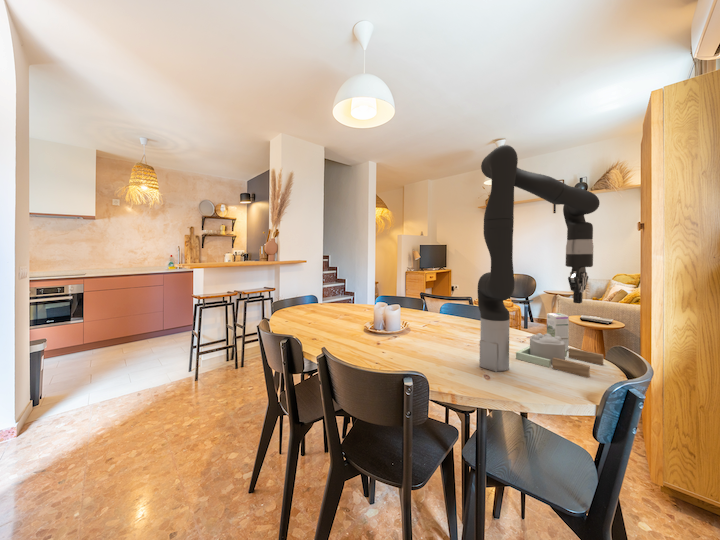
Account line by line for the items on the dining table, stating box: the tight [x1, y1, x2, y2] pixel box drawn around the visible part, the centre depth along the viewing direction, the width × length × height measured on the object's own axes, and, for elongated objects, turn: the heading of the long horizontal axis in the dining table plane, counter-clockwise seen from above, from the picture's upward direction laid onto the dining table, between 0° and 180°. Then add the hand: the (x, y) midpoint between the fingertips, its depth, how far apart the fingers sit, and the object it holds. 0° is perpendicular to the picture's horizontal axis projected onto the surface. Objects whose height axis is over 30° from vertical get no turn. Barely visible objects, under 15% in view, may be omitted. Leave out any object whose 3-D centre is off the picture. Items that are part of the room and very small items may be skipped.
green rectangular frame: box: [515, 345, 568, 368], centre depth 109 cm, size 17×11×2 cm, turn 127°
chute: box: [551, 347, 604, 378], centre depth 100 cm, size 17×10×4 cm, turn 127°
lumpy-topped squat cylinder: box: [529, 332, 566, 364], centre depth 109 cm, size 10×13×9 cm
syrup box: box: [546, 312, 570, 352], centre depth 119 cm, size 6×6×14 cm
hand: (577, 302), depth 99 cm, fingers closed
